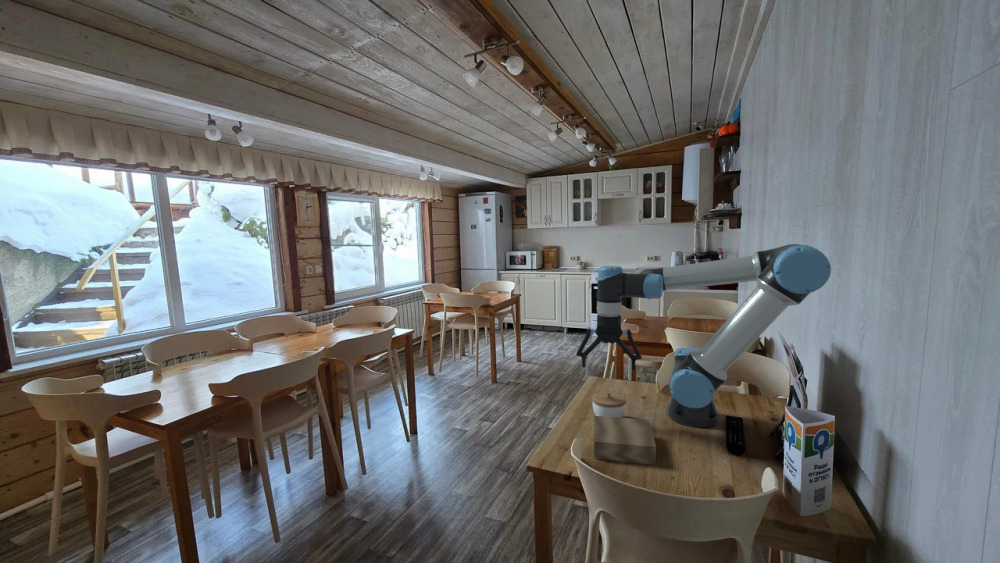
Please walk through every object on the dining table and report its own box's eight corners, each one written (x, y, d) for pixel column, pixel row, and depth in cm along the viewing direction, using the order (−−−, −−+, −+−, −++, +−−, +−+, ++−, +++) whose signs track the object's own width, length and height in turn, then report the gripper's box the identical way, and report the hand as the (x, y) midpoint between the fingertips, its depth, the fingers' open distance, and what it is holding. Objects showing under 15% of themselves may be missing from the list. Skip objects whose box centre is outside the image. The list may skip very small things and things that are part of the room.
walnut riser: (648, 435, 124) (648, 419, 123) (655, 464, 108) (656, 447, 108) (594, 430, 127) (594, 415, 127) (594, 458, 112) (594, 441, 111)
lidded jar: (620, 430, 127) (620, 401, 126) (587, 423, 133) (587, 395, 132) (629, 417, 136) (629, 390, 135) (598, 410, 142) (598, 384, 141)
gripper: (648, 313, 131) (646, 376, 134) (570, 310, 137) (570, 371, 139) (651, 318, 124) (649, 384, 126) (568, 315, 130) (568, 379, 132)
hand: (607, 378), depth 133 cm, fingers open, 13 cm apart
